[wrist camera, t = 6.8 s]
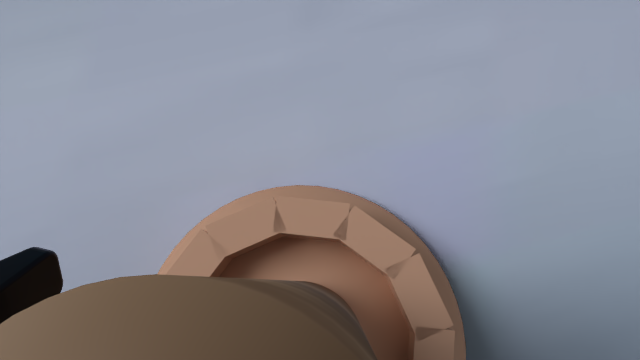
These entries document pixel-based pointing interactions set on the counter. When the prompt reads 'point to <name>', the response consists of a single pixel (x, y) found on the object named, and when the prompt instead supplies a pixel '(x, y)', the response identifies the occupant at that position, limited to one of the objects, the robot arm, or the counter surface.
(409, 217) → the counter surface
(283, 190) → the collar dish
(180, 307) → the dowel
